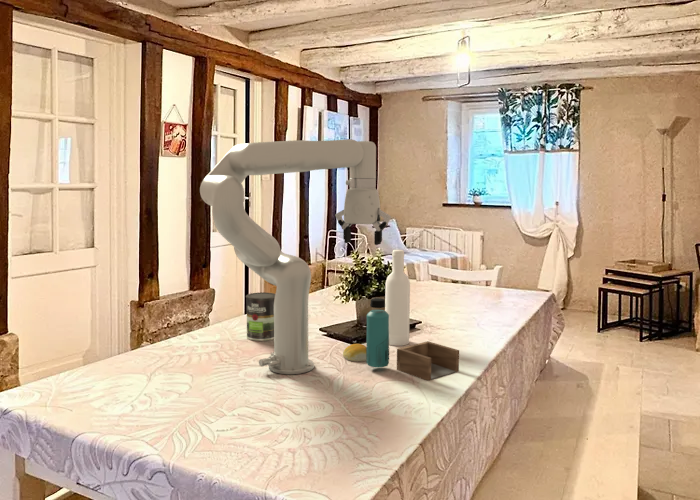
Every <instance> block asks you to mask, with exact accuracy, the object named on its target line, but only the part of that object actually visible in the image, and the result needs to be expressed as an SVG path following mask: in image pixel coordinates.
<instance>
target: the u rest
mask: <svg viewBox="0 0 700 500" xmlns="http://www.w3.org/2000/svg"><path fill="white" fill-rule="evenodd" d="M459 368H460V349H456V348H453V347H449V346H446V345H442V344H439V343H435V342H432V341H424V342H420V343H415V344H412V345H405V346H401V347H398V348H396V371H399V372H402V373H405V374H408V375H411V376H413V377H417V378H419V379H422V380H424V381H432V380H434V379H438V378H442V377H445V376H448V375H451V374H454V373H458V372H459V371H460V369H459Z"/></svg>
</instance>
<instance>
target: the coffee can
mask: <svg viewBox="0 0 700 500" xmlns="http://www.w3.org/2000/svg"><path fill="white" fill-rule="evenodd" d="M275 294H276V293H274V292H261V291H260V292H252V293H247V294H246V295H245V298H246V339H247V340H250V341H255V342H266V341H272V340H273V341H274V299H275Z"/></svg>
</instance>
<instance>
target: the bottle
mask: <svg viewBox="0 0 700 500" xmlns="http://www.w3.org/2000/svg"><path fill="white" fill-rule="evenodd" d="M391 256H392V258H391V259H392V262H391V264H392V265H391V266H392V267H391V269H392V271H391V272H390V274H389V275H387V277H386V280H385V290H384V292H385V295H384V296H385V298H384V300H385V307H384V308H385V310H384V311H386V312H387V313H388V314H389V330H390V331H389V346H395V347H404V346H408V345H409V343H410V313H411V311H410V310H411V309H410V308H411V307H410V306H411V305H410V303H411V282H410V279H409V276H408V275H407V274H406V273H405V272H404V270H405V268H404V266H405V250H403V249H393V250H392V254H391Z"/></svg>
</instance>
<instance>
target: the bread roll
mask: <svg viewBox="0 0 700 500" xmlns="http://www.w3.org/2000/svg"><path fill="white" fill-rule="evenodd" d="M366 347H367V345H364V344H362V343H353V344H349V345H348V346H347V347H345V348H344V349H343V352H342V356H343V357H344V358H345V360H347V361H349V362H355V363H356V362H367V359H366V358H367V357H366Z"/></svg>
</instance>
